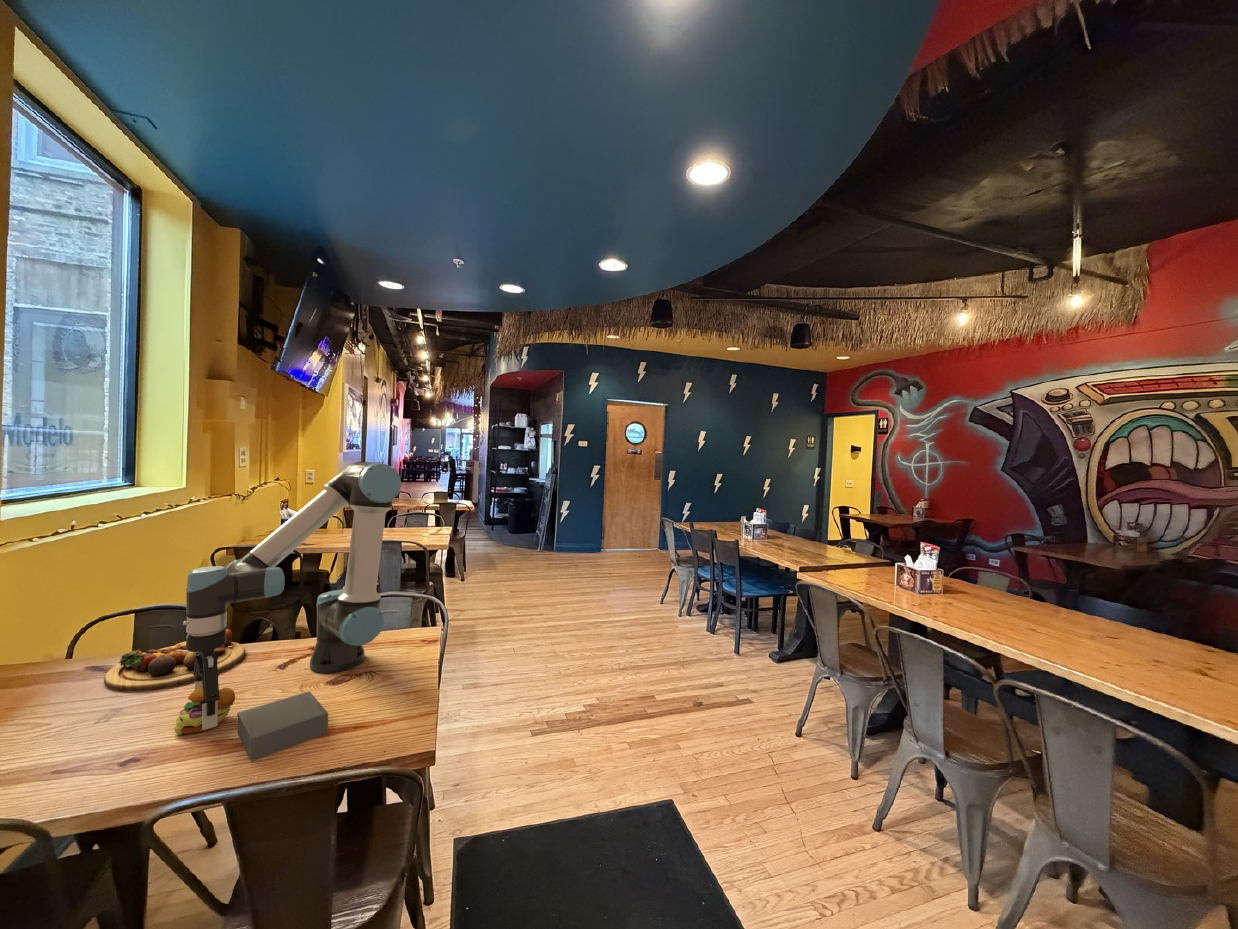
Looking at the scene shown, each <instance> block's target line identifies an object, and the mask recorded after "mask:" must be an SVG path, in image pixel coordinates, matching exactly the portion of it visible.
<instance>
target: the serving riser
mask: <svg viewBox="0 0 1238 929" xmlns="http://www.w3.org/2000/svg"><path fill="white" fill-rule="evenodd" d="M236 718H237V725H236V726H237V727H236V728H237V729H236V730H237V731H236V732H237V736H238V737H239V740H240V742H241V744H242V746H243V748H244V751H245V752H246V755H247V756H248V760H249V761H250V762H253V761H257V760H259V759H262V758H264V757H268V756H270V755H273V754H276V753H279V752H281V751H284V750H287V749H289V748H292V747H295V746H298V745H302V744H304V743H305V742H308V741H311V740H314V739H317V738H320V737H323V736H325V735H328V734H329V712H328V711H327V710H326V709H325V708H324V707H323V705H322V704H321V702H320V701H319V700H318V699H317V698H316V697H315V696H314V695H313V693H312V692H311V691H310V690H309V691H304V692H302V693H299V694H295V695H291V696H288V697H286V698H282V699H278V700H275V701H272V702H268V703H264V704H263V705H259V706H255V707H251V708H248V709H245V710H241V711H238V712H237V716H236Z"/></svg>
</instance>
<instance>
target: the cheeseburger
mask: <svg viewBox="0 0 1238 929" xmlns="http://www.w3.org/2000/svg"><path fill="white" fill-rule="evenodd" d="M212 696H214V695H212ZM219 696H220V699H219V700H218V726H220V725H222V723H223V722H224V721H225V719H226V717H227V716H228V715H229V713H230V711H231V706H233V705H234V703H235V700H236V694H235V691H234V690H233V689H232V688H230V687H222V688H219ZM209 697H210V696H209ZM187 699H188V702H186V704H185V705H184V706H183V709H181V710H180V711H179V714H178V716H177V718H176V719H175V723H176V724H175V725H174V732H175V734H177V735H179V736H181V735H183V734H192V733H198V732H203V731H209V730H212V729H215V728H216V727H218V726H215V727H212V728H209V729H206V730H202V706H203V704H201V705H200V701H202V700H204V696H203V687H200V688H197V689H196V690H195V689H194V690H193V691H192V692H191V693H190V694H189V696H188V698H187Z"/></svg>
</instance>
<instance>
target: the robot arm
mask: <svg viewBox="0 0 1238 929" xmlns="http://www.w3.org/2000/svg"><path fill="white" fill-rule="evenodd" d="M401 480H402V479H401V477H400V474H399V473H398V471H397V470H396V469H395V468H393V467H392V465H391V466H390V465H389V464H386V463H383V462H370V461H369V462H368V461H356V462H355V463H352V464H350V465H348V466H345V467H344V468H343V469H342V470H341V471H340V472H338V473H337V474H336V475H335V476H334V477H332V478H331V479H330V480H329V481H328V482H326V483H325V484H324V485H323V490H322V491H321V492H320V493H318V494H317V495H316V496H315V497H314V498H313V499H312V500H310V501H309V502H308V503H306V504H305V505H304V506H303V507H302V508H301V509H299V510H298V511H297V512H296V513H295V514H294V515H292V516H291V517H290V518H289V519H287V521H285V522H284V523H283V524H281V525H280V526H279V527H278V528H277V529H276V530H274V531H273V532H272V533H271V534H270V535H268V536H267V537H266V538H265V539H263V540H262V541H260V543H259V544H258V545H256V546H255V547H254V548H252V550H250V551H249V552H248V553H247V554H245V555H244V556H243V557H242V558H240V559H239V558H238V559H235V560H233V561H231V562H230V563H228V564H227V565H226V566H220V565H216V566H215V565H214V566H204V567H199V568H195V569H193V570H191V571H189V572H188V574H187V581H186V588H185V591H186V592H185V593H186V596H185V597H186V620H184V621H183V622H182V625H183V626H186V634H187V635H186V636H185V641H186V650H187V651H190V652H196V655H195V666H194V673H193V675H194V676H195V678H194V680H195V681H194V691H195V690H196V689H197V688H200V687H203V696H204V700H202V701H200V705H201V704H203V706H202V730H205V731H207V730H206V729H209V728H212V727H214V728H216V727H215V726H217V727H218V700H219V699H220V696H219V690H220V685H219V673H218V666H217V660H218V654H216V651H214V650H215V649H216V648H218V647H221V646H223V645H224V644H225V643H226V627H227V618H228V616H227V615H228V610H227V605H228V604H234V603H240V602H247V601H254V600H258V599H264V598H266V599H268V598H269V597H275V596H279V595H280V594H282V593H283V591H284V589H285V581H286V580H285V574H284V571H283V569H282V568H281V567H279V566H278V565H279V564H280V563H281V562H282V561H283V560H284V559H285V558H286V557H288V556H289V555H290V554H291V553H292V552H294V551H295V550H296V549H298V547H299V546H301V544H303V543H304V542H305V541H306V540H307V539H308V538H309V537H311V536H312V535H313V534H314V533H315V532H317V531H318V529H320V528H321V527H322V526H323V525H324V524H326V523H327V522H328V521H329V520H330V519H331V518H333V516H335V515H336V514H337V513H338V512H340V510H342V509H343V508H349V507H350V508H351V509H352V510H353V517H352V518H353V519H352V528H351V535H350V545H349V549H348V550H349V551H348V559H347V567H346V573H345V574H346V576H345V581H344V582H345V583H344V588H343V589H336V590H335V589H334V590H331V591H330V590H329V591H327V592H323V593H321V594H319V595H318V597H317V599H316V600H317V601H316V605H315V606H316V643H315V645H314V648H313V651H312V654H311V657H310V659H309V669H310V670H311V672H315V673H318V674H320V673H321V674H330V673H331V674H332V673H338V672H343V671H347V670H350V669H352V668H355V667H357V666H358V665H361V664H362V663H363V662H364V661H365V652H366V651H365V649H364V645H367V644H369V643H371V642H373V641H374V639H376V638H377V637H378V636H380V634H381V632H382V630H383V629H384V627H385V626H384V625H385V616H384V614H383V612H382V610H381V609H380V606H381V598H382V597H381V595H380V594H379V593H378V592H377V585H378V578H379V571H380V561H381V554H382V545H383V538H384V529H385V522H386V514H387V512H389V511H390V510H391V509H392V508H393V502H394V499H395V498H396V497H398V495H399V494H400V491H401V487H402V481H401ZM212 695H214V696H212ZM209 696H210V697H209ZM212 729H213V728H212ZM209 730H210V729H209Z"/></svg>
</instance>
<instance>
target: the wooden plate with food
mask: <svg viewBox="0 0 1238 929" xmlns="http://www.w3.org/2000/svg"><path fill="white" fill-rule="evenodd" d="M225 629H226V628H225ZM232 640H233V632H232V630H231V629H226V643H225V644H224V645H223V646H221V647H218V648H216V649H215V650H214V651H216V654H218V660H217V666H218V674H220V673H222V672H224V671H227V670H229V669H230V668H232V667H234V666H235V665H237V664H238V663H240V661H242V659H243V658H244V657H245V655H246V649H245V647H244V646H243V645H242V644H241V643H238V642H234V641H232ZM228 646H232V647H228ZM195 655H196V652H190V651H187V650H186V640H185V641H183V642H179V643H176V644H175V645H171V646H168V647H167V646H166V647H163V648H159V649H154V648H153V649H148V650H146V651H145V653H143V651H141V650H140V648H138V649H137V650H131V651H128V652H127V653H123V655H121V658H120V660H119V662H118V664H116V665H115V666H113V667H112V668H111V669H110V670H108V671H107V673H105V676H103V677H104V678H103V682H104V684H105V686H107V687H108V688H109V689H112V690H115V691H121V692H147V691H155V690H156V691H157V690H162V689H168V688H174V687H177V686H183V685H187V684H190V683H195V682H196V681H195V680H194V678H195V676H194V675H193V673H194V666H195Z"/></svg>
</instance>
